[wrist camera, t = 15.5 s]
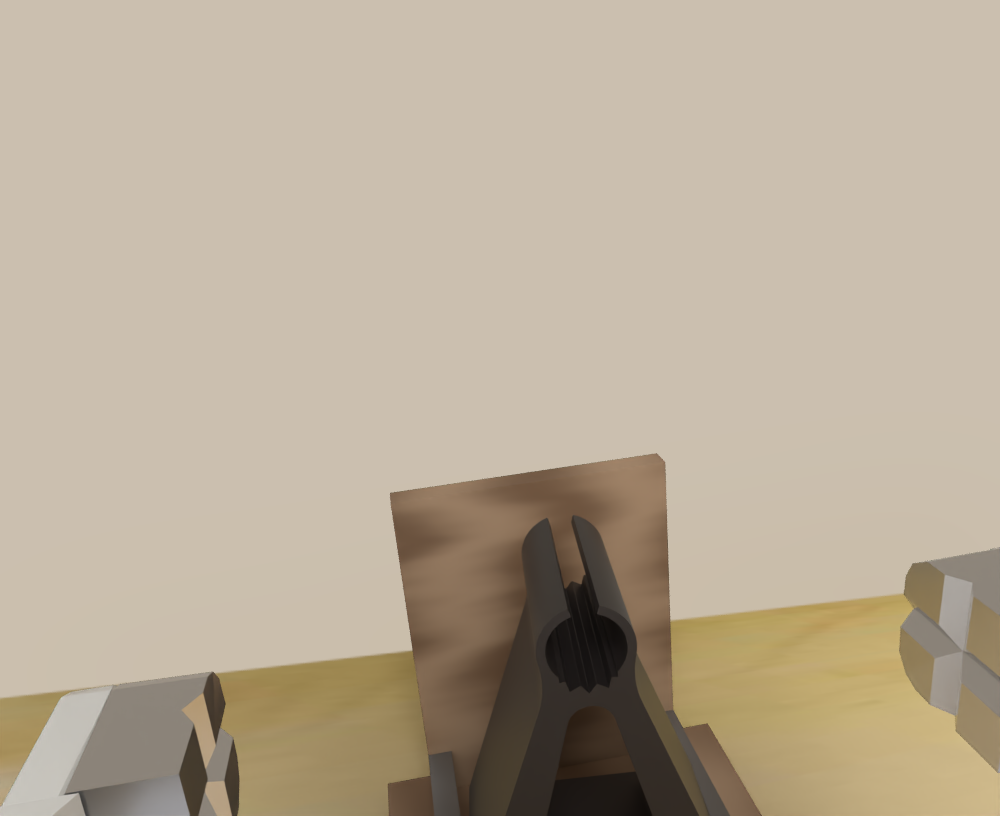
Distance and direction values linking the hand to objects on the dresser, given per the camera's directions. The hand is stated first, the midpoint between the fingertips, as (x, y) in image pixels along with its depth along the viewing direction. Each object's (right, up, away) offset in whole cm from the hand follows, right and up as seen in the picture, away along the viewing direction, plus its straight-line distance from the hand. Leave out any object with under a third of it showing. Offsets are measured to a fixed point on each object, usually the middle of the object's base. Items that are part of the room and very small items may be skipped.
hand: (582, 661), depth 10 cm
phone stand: (+2, -13, +21) cm, 25 cm away
